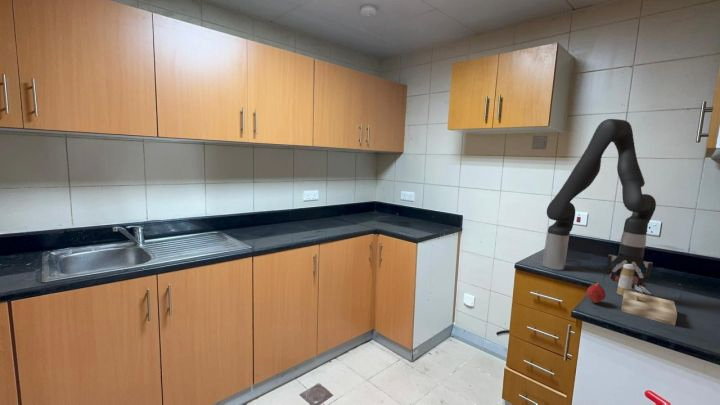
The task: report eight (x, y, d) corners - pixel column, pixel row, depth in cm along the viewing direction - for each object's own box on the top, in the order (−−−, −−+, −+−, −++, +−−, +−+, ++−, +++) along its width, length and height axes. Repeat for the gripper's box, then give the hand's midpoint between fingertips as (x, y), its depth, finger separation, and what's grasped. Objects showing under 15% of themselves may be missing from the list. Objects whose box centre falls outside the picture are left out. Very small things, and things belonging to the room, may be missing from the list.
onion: (581, 299, 124) (584, 279, 123) (595, 299, 125) (598, 279, 123) (593, 306, 118) (596, 285, 117) (607, 306, 119) (611, 286, 118)
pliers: (630, 294, 132) (631, 288, 132) (607, 277, 152) (608, 272, 151) (663, 299, 130) (665, 293, 129) (635, 281, 149) (636, 275, 149)
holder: (621, 311, 116) (623, 300, 115) (622, 299, 126) (624, 289, 126) (674, 325, 107) (677, 314, 106) (671, 311, 117) (673, 301, 116)
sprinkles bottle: (619, 291, 134) (625, 260, 132) (632, 296, 130) (638, 264, 128) (613, 293, 132) (619, 261, 130) (626, 297, 128) (632, 265, 126)
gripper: (609, 241, 129) (602, 280, 132) (657, 249, 120) (649, 291, 122) (610, 238, 135) (604, 276, 137) (656, 246, 126) (649, 286, 128)
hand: (625, 283), depth 130 cm, fingers open, 7 cm apart
